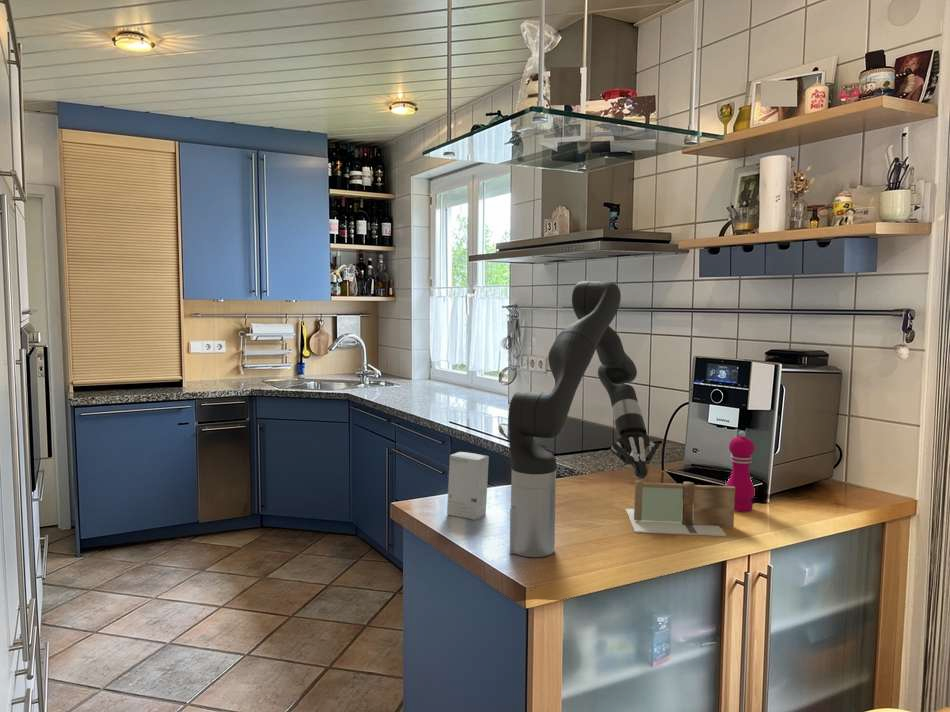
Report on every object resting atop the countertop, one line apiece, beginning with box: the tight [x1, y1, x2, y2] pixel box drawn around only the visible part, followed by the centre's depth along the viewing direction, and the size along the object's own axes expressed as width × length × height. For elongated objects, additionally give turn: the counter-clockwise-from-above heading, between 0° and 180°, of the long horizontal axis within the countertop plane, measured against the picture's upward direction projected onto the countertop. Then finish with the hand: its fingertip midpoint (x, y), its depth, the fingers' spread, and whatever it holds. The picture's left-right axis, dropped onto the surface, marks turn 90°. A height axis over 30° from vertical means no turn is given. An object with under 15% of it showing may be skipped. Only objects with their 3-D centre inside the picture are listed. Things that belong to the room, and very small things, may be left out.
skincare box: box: [446, 451, 490, 521], centre depth 165 cm, size 8×6×15 cm
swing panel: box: [633, 479, 683, 522], centre depth 160 cm, size 11×2×9 cm, turn 84°
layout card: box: [625, 508, 727, 537], centre depth 161 cm, size 20×17×1 cm
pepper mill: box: [725, 430, 755, 513], centre depth 172 cm, size 7×7×20 cm
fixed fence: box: [682, 481, 735, 528], centre depth 158 cm, size 12×2×10 cm, turn 84°
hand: (642, 477), depth 169 cm, fingers closed
